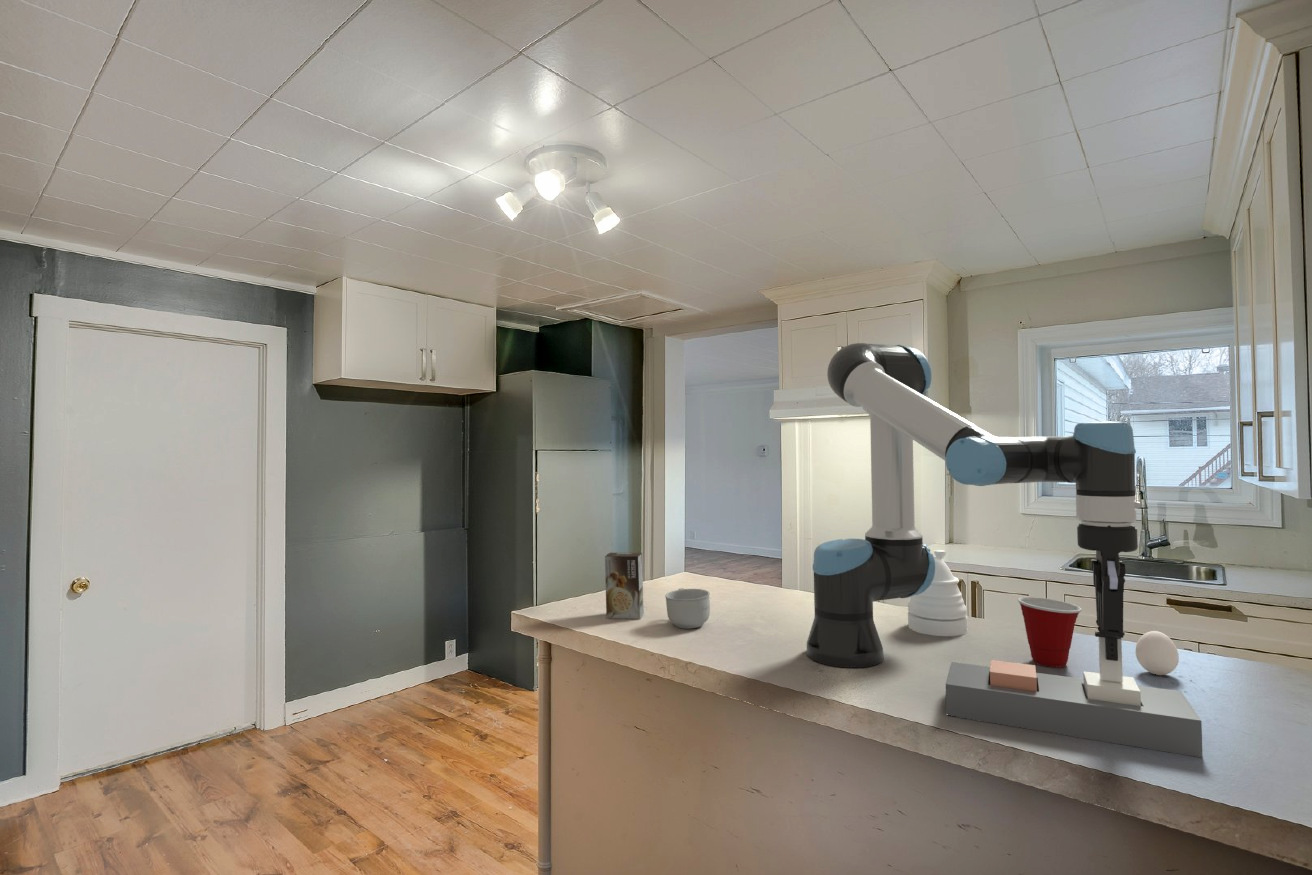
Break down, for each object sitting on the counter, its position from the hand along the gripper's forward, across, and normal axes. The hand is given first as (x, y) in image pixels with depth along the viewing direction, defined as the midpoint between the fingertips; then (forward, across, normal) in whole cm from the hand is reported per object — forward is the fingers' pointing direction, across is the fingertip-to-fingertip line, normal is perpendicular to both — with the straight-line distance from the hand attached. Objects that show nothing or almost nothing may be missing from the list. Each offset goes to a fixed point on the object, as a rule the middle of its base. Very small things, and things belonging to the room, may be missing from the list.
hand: (1111, 679), depth 99 cm
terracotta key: (+4, 0, +13) cm, 14 cm away
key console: (+7, 0, +7) cm, 10 cm away
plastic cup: (+7, +30, +7) cm, 32 cm away
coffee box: (+7, +26, +102) cm, 105 cm away
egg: (+8, +31, -10) cm, 34 cm away
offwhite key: (+4, 0, 0) cm, 4 cm away
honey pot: (+7, +47, +29) cm, 56 cm away
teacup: (+7, +26, +84) cm, 88 cm away
